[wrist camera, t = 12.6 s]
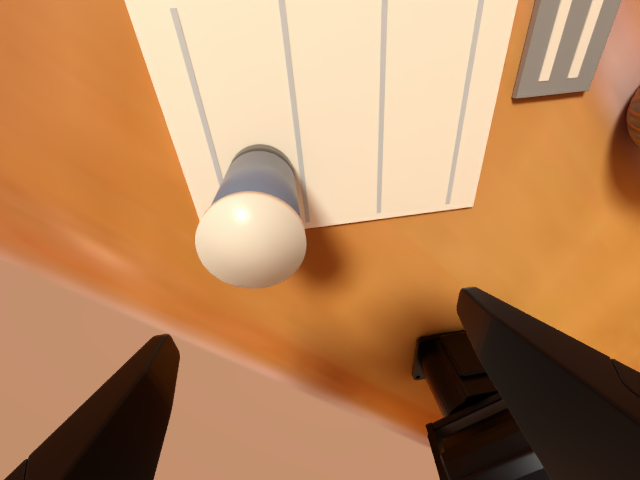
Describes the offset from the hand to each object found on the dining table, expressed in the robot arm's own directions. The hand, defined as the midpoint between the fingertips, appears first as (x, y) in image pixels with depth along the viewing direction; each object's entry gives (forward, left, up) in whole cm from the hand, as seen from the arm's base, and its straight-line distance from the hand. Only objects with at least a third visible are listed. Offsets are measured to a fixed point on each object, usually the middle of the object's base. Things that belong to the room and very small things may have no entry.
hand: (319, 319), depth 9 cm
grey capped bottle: (+1, +2, -11) cm, 12 cm away
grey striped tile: (+7, -16, -12) cm, 21 cm away
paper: (+3, -3, -12) cm, 13 cm away
